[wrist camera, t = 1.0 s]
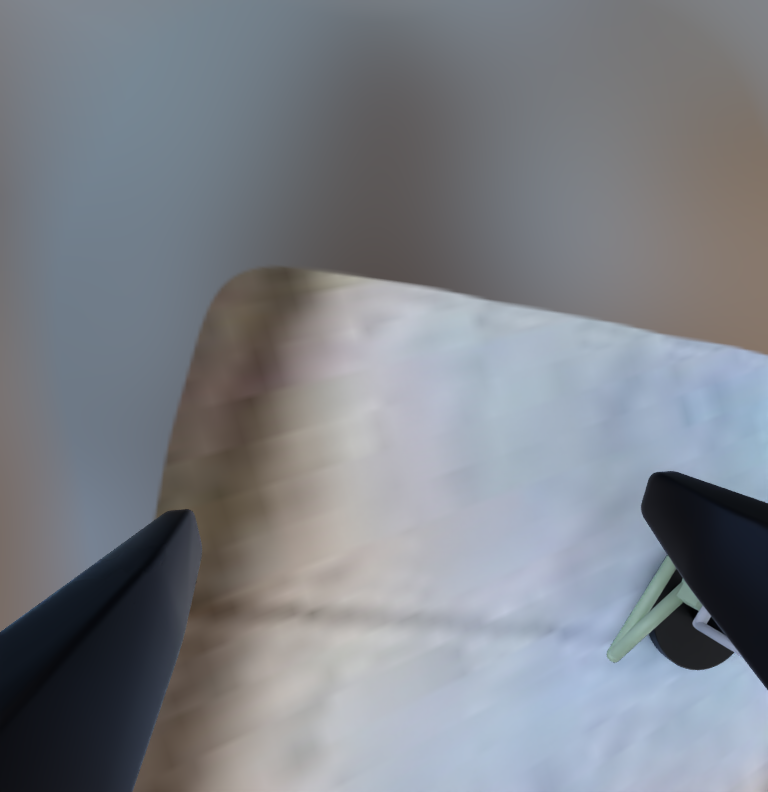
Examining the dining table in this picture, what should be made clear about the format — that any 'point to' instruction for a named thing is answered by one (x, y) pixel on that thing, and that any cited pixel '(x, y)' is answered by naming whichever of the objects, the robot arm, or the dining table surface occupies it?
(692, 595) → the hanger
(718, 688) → the dining table surface
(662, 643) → the black holder stand
